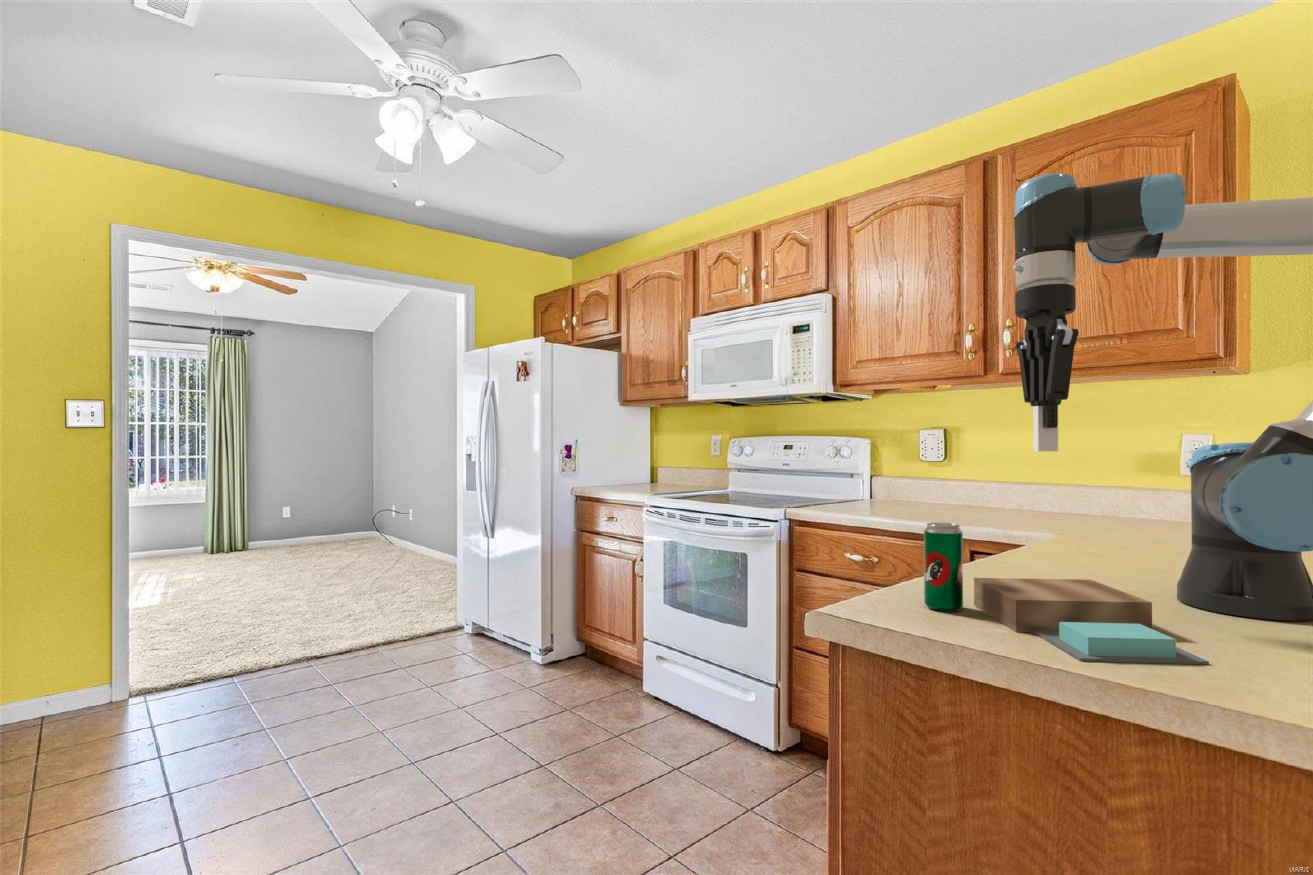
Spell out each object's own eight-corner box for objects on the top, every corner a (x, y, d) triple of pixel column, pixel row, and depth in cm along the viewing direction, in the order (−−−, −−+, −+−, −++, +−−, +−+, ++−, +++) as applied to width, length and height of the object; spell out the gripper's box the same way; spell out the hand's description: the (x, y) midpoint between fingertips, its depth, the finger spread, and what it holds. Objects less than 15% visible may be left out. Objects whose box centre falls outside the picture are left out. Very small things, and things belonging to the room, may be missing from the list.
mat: (1146, 636, 79) (1146, 633, 79) (1208, 664, 69) (1208, 661, 69) (1034, 633, 80) (1034, 631, 80) (1080, 661, 70) (1080, 658, 70)
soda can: (967, 613, 89) (966, 527, 89) (928, 612, 90) (928, 526, 90) (957, 604, 94) (957, 522, 94) (921, 603, 95) (920, 521, 95)
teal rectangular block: (1175, 639, 70) (1175, 657, 70) (1139, 623, 76) (1139, 640, 76) (1088, 637, 71) (1088, 655, 71) (1059, 621, 77) (1059, 638, 77)
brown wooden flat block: (1090, 607, 92) (1090, 579, 92) (1152, 635, 79) (1152, 602, 79) (974, 605, 93) (974, 577, 93) (1016, 631, 80) (1015, 599, 80)
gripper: (997, 298, 99) (998, 450, 99) (1040, 277, 87) (1041, 452, 86) (1048, 297, 99) (1049, 450, 99) (1099, 275, 86) (1100, 452, 86)
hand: (1045, 451), depth 93 cm, fingers closed
